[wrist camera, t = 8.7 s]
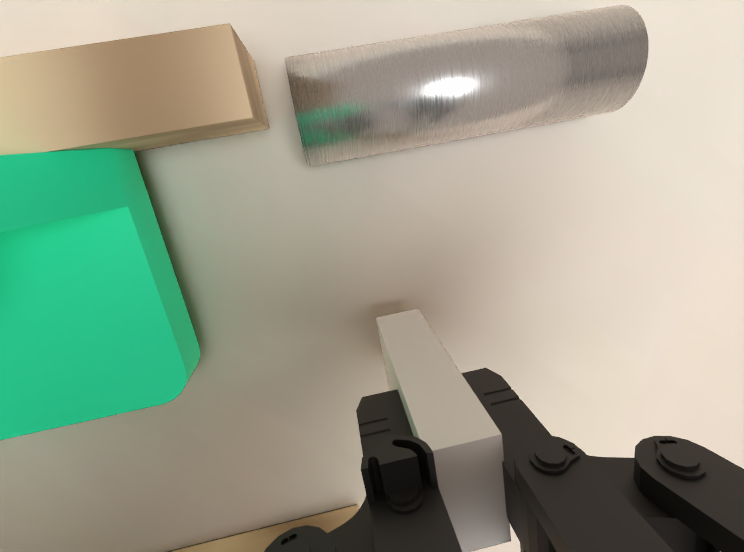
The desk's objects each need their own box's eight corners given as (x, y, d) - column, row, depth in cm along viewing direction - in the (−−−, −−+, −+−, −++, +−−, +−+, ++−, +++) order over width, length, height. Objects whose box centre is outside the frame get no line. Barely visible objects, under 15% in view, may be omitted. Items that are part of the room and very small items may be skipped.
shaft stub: (282, 43, 12) (303, 137, 14) (288, 81, 10) (311, 185, 12) (598, -6, 12) (570, 91, 15) (666, 20, 10) (621, 128, 13)
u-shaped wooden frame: (-48, 644, 17) (-192, 835, 12) (-404, 163, 11) (-970, 165, 6) (365, 537, 18) (382, 671, 13) (253, 60, 12) (212, -3, 7)
